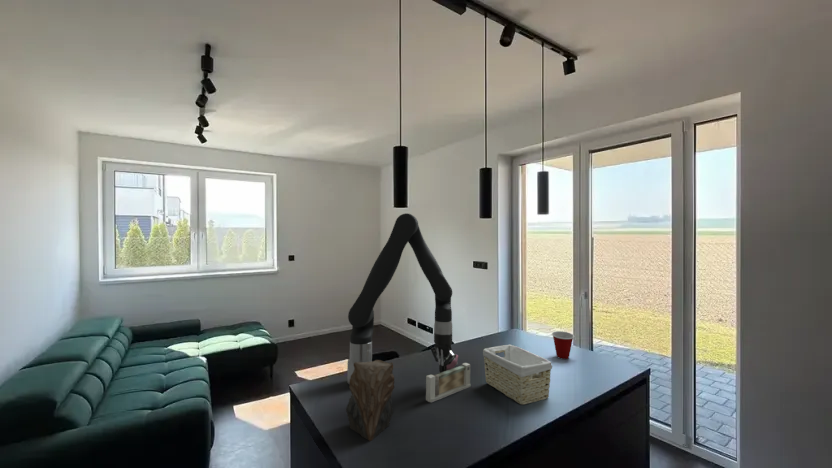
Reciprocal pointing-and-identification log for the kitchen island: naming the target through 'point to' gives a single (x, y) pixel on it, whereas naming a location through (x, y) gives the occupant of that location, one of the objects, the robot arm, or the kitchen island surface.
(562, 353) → the plastic cup
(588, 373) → the kitchen island surface
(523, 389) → the storage basket
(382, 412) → the owl
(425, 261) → the robot arm
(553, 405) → the kitchen island surface
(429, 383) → the gate posts
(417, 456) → the kitchen island surface
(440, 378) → the panel
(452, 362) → the video game controller
